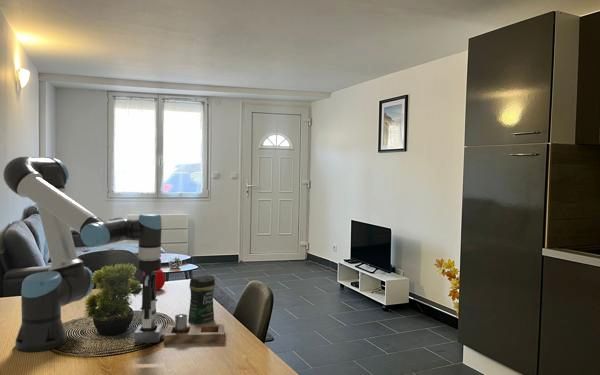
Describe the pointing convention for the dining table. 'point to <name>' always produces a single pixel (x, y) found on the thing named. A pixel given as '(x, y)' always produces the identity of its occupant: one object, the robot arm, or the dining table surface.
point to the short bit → (181, 323)
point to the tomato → (159, 279)
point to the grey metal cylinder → (153, 317)
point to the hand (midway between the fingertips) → (148, 323)
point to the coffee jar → (201, 299)
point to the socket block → (148, 334)
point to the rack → (195, 334)
